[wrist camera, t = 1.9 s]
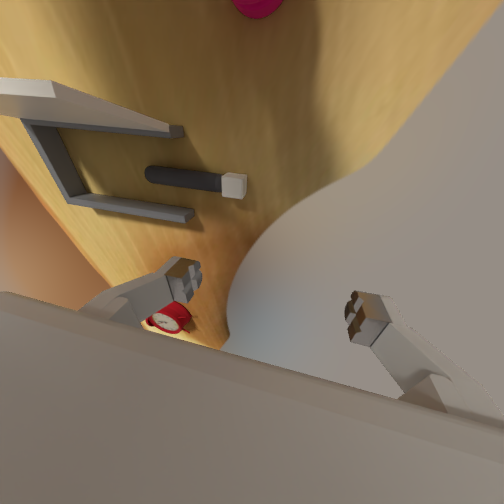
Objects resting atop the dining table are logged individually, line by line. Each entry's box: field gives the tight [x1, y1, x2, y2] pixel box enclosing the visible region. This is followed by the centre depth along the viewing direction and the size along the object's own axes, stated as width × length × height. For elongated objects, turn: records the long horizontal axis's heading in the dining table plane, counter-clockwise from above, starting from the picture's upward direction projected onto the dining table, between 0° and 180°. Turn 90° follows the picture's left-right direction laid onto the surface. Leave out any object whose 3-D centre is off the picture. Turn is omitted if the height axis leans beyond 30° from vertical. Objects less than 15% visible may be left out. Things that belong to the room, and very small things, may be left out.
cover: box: [0, 78, 169, 132], centre depth 17 cm, size 11×22×1 cm
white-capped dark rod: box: [144, 166, 247, 199], centre depth 25 cm, size 15×3×3 cm, turn 86°
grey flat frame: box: [20, 118, 194, 223], centre depth 27 cm, size 12×22×3 cm, turn 86°
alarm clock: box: [146, 301, 192, 334], centre depth 48 cm, size 10×6×15 cm
